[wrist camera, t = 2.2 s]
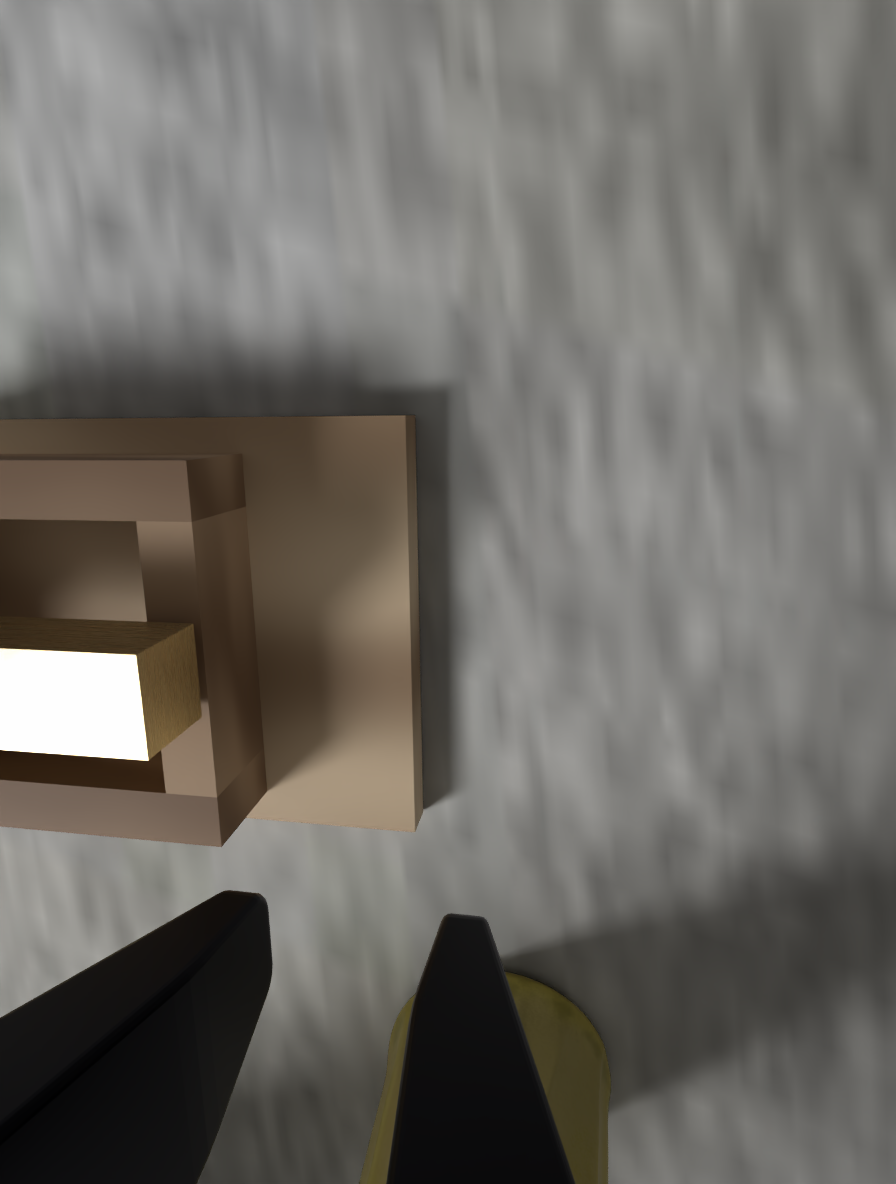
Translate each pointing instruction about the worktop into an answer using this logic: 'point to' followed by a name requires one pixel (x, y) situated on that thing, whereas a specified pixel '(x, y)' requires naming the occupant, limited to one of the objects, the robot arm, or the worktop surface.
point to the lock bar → (96, 686)
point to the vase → (565, 1069)
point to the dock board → (229, 614)
